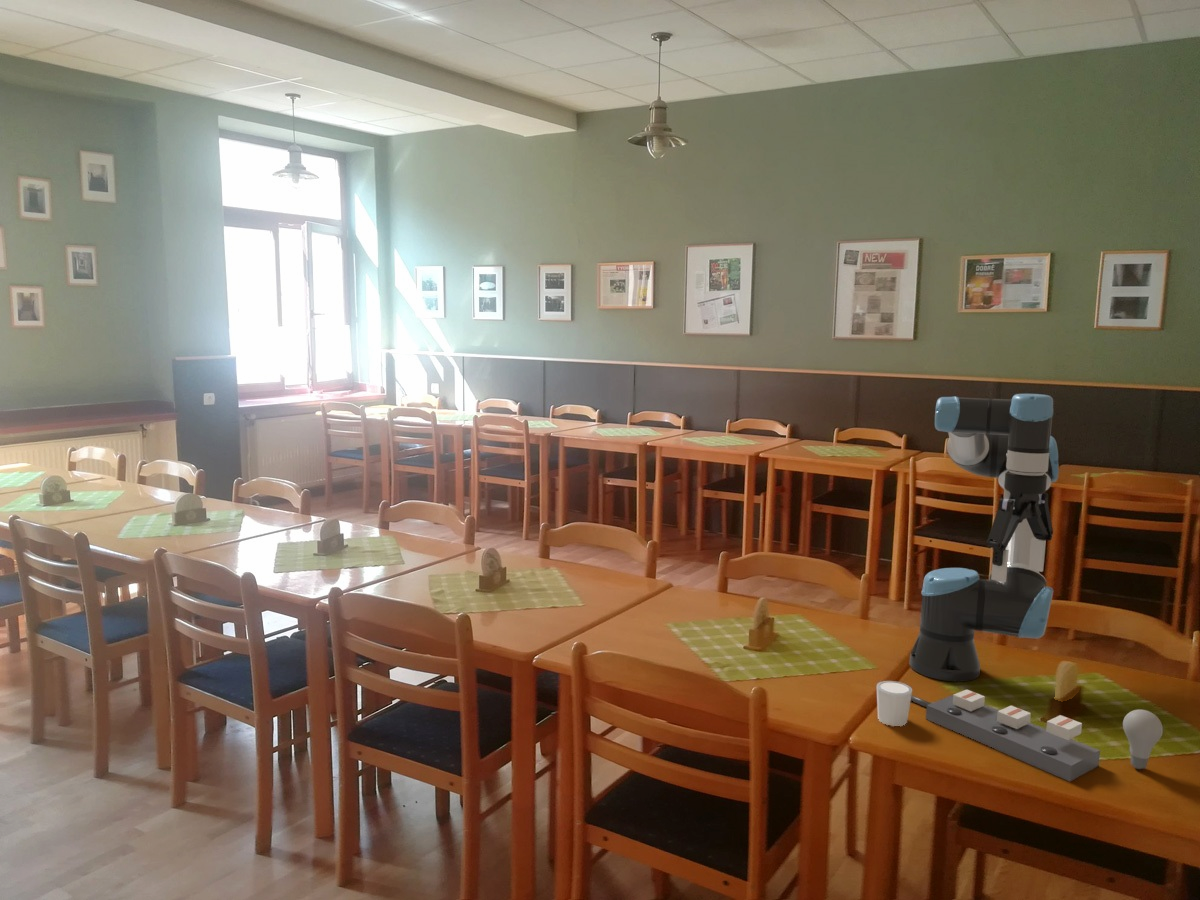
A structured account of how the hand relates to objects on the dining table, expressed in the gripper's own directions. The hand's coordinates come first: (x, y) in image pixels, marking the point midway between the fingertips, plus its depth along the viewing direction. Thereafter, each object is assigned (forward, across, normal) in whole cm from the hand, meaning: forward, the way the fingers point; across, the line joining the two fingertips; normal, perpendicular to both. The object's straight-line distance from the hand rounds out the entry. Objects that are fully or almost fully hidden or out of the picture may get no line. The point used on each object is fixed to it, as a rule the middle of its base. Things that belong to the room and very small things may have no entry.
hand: (1017, 575), depth 178 cm
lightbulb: (+29, +3, +27) cm, 40 cm away
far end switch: (+24, +12, +18) cm, 32 cm away
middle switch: (+26, +12, +8) cm, 29 cm away
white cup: (+29, +24, -10) cm, 39 cm away
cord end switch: (+26, +12, -2) cm, 28 cm away
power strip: (+29, +13, +3) cm, 32 cm away
